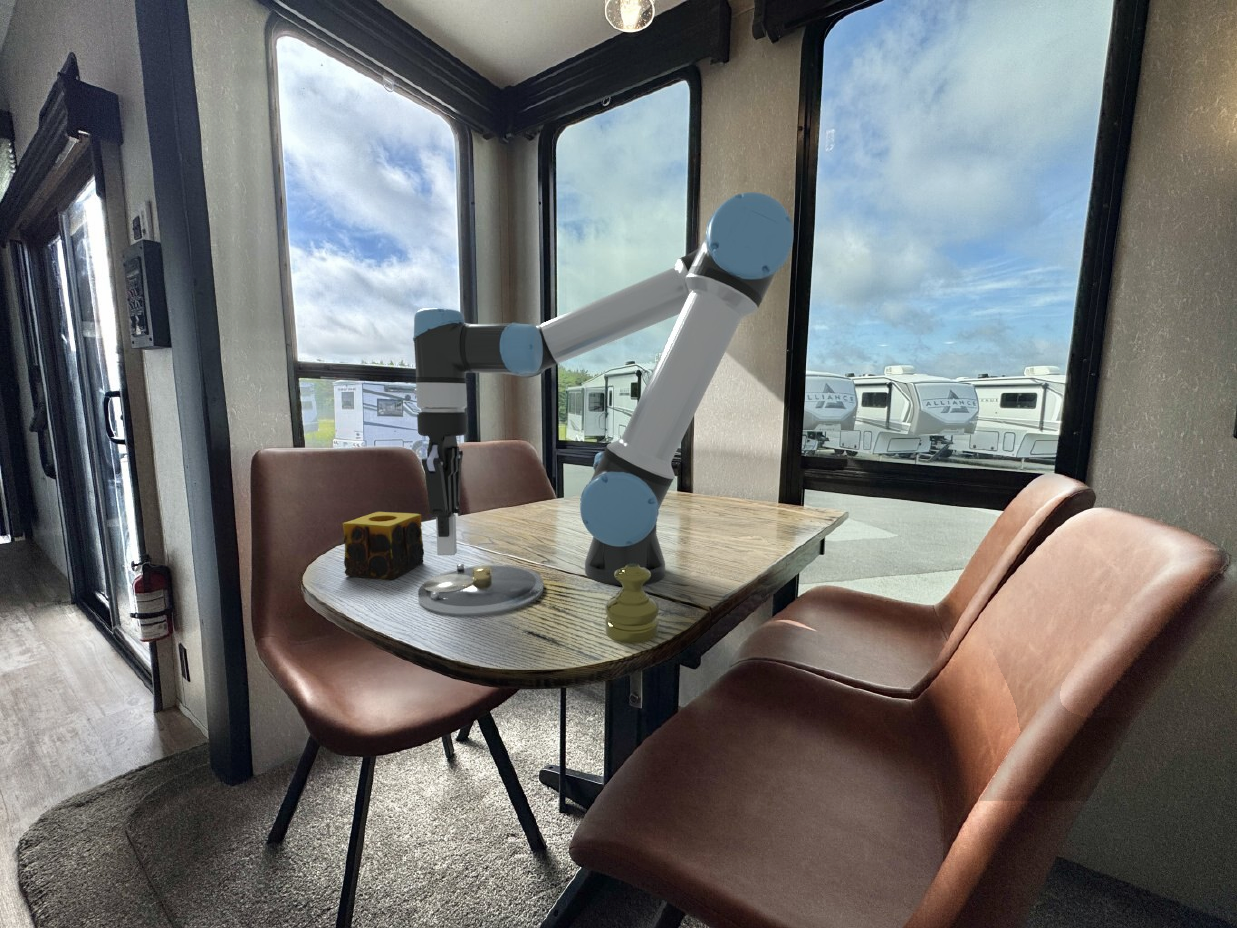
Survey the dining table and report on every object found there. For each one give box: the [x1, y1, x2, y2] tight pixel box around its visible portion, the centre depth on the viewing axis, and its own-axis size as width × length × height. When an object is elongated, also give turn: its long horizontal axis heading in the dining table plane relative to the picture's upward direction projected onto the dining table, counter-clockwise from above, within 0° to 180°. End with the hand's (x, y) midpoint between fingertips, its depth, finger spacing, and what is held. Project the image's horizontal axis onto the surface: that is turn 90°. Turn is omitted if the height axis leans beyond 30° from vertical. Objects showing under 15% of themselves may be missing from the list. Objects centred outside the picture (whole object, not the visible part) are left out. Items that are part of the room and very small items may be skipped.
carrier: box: [417, 563, 544, 617], centre depth 84 cm, size 20×20×4 cm
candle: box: [342, 511, 425, 581], centre depth 95 cm, size 10×10×10 cm
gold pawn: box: [604, 563, 660, 644], centre depth 69 cm, size 7×7×10 cm
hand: (447, 553), depth 84 cm, fingers closed
